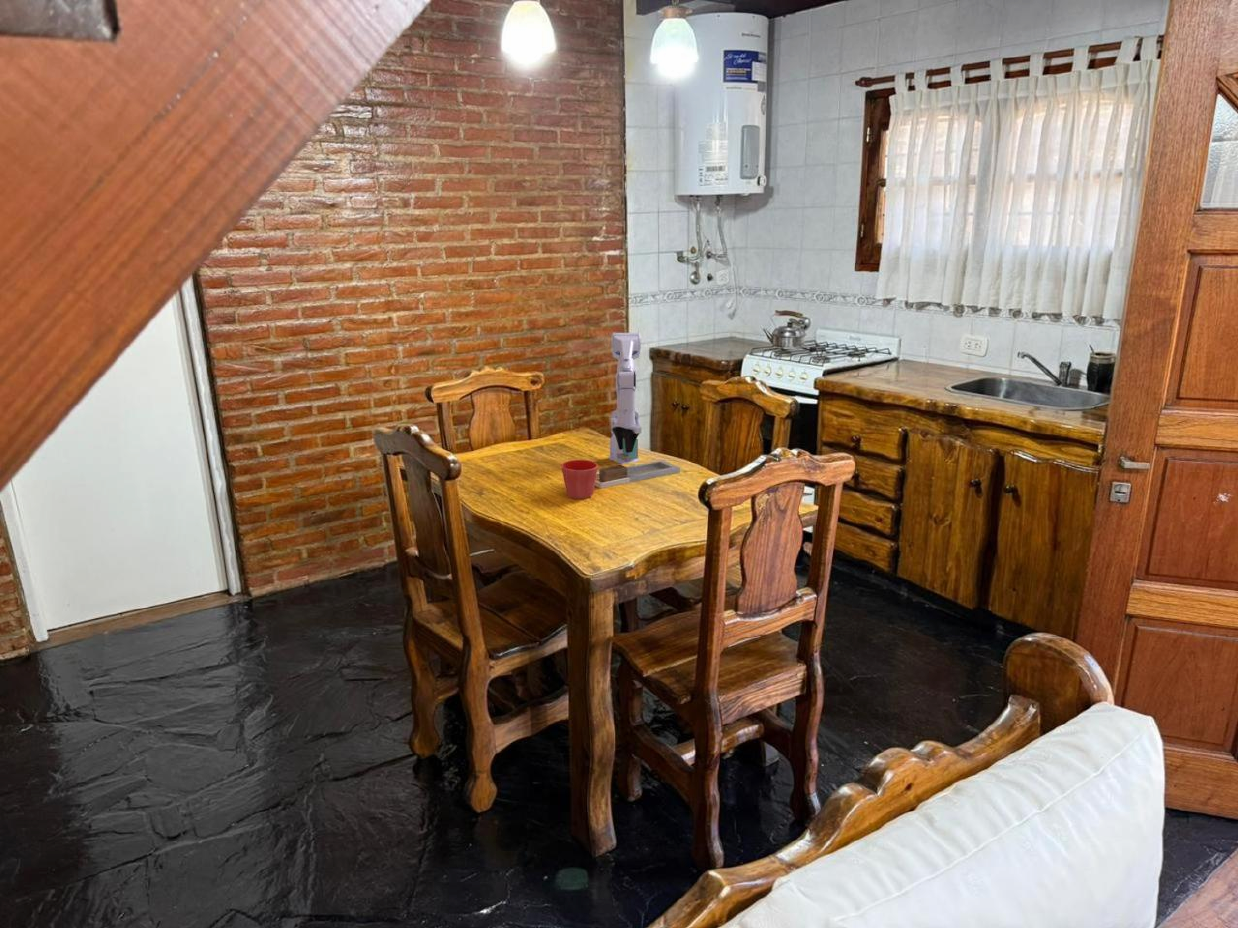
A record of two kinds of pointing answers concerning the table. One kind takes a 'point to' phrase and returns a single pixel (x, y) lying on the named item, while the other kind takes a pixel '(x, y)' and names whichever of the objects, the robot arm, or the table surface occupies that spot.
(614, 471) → the brown boxy piece
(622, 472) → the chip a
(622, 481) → the tray
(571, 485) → the flower pot
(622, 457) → the teal block
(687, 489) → the table surface
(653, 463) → the slot block
